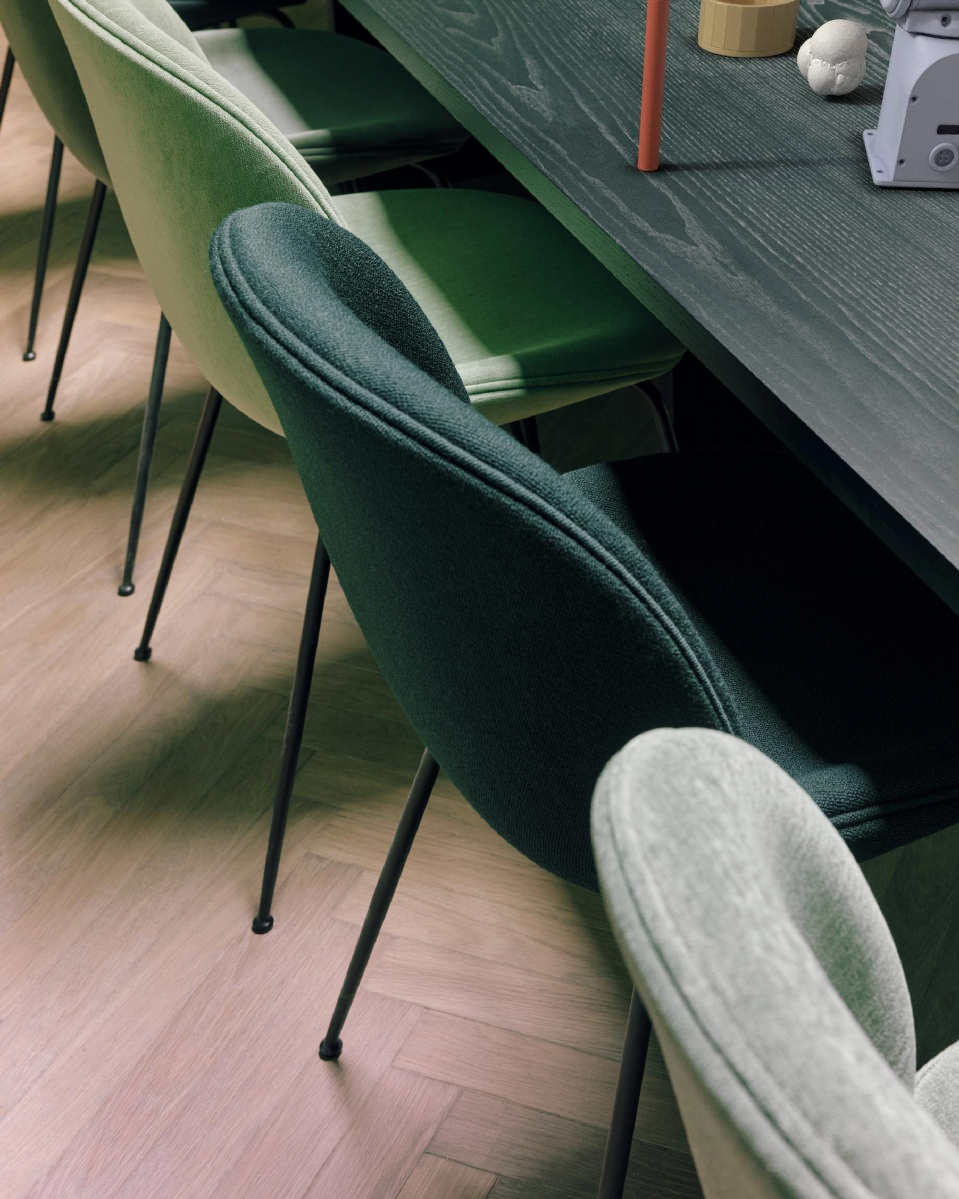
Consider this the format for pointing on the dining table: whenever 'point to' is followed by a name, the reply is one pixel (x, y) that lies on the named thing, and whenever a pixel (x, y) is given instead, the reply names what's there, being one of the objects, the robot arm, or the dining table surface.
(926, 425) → the dining table surface
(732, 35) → the tumbler
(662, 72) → the straw
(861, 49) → the microfossil shell
